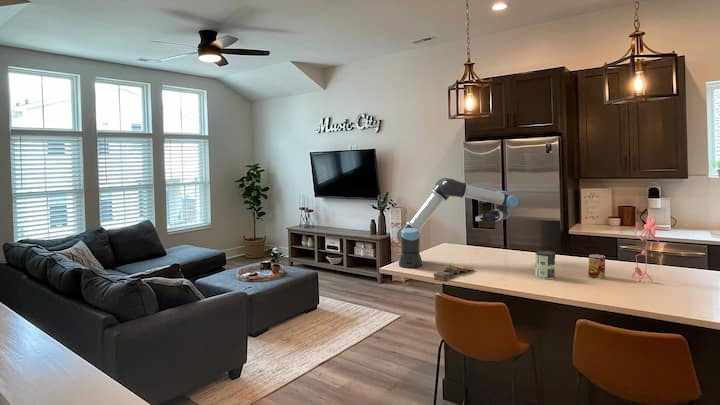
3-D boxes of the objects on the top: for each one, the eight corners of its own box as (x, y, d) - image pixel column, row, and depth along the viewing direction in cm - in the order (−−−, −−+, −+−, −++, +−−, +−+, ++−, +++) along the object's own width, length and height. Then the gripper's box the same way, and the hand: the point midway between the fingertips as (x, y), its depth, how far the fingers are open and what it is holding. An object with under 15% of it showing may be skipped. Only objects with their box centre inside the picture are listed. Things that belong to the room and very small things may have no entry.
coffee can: (552, 274, 244) (552, 250, 243) (556, 279, 234) (557, 254, 233) (533, 274, 246) (533, 250, 245) (537, 279, 236) (537, 253, 235)
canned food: (585, 276, 240) (585, 255, 239) (595, 274, 243) (596, 253, 242) (597, 279, 233) (598, 257, 232) (607, 278, 236) (608, 256, 235)
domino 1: (453, 274, 244) (442, 278, 236) (444, 272, 248) (433, 276, 240) (453, 271, 244) (442, 275, 236) (444, 270, 248) (433, 273, 240)
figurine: (644, 285, 219) (648, 218, 216) (623, 273, 244) (627, 212, 241) (677, 287, 216) (682, 219, 213) (653, 275, 241) (657, 213, 238)
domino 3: (459, 273, 249) (445, 270, 244) (452, 272, 254) (438, 268, 249) (459, 271, 249) (446, 267, 244) (452, 269, 254) (439, 265, 249)
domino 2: (453, 278, 242) (443, 282, 234) (444, 276, 246) (433, 280, 238) (453, 275, 242) (443, 279, 234) (444, 273, 246) (433, 277, 238)
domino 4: (467, 272, 254) (456, 269, 247) (459, 270, 258) (448, 268, 252) (468, 269, 254) (456, 267, 247) (460, 267, 258) (448, 265, 252)
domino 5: (474, 270, 257) (463, 268, 250) (466, 268, 262) (455, 266, 255) (474, 268, 257) (463, 265, 251) (466, 266, 262) (455, 264, 255)
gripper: (503, 221, 277) (486, 225, 261) (485, 220, 286) (467, 224, 270) (504, 210, 277) (486, 213, 260) (485, 209, 286) (467, 212, 269)
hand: (476, 219), depth 265 cm, fingers closed
